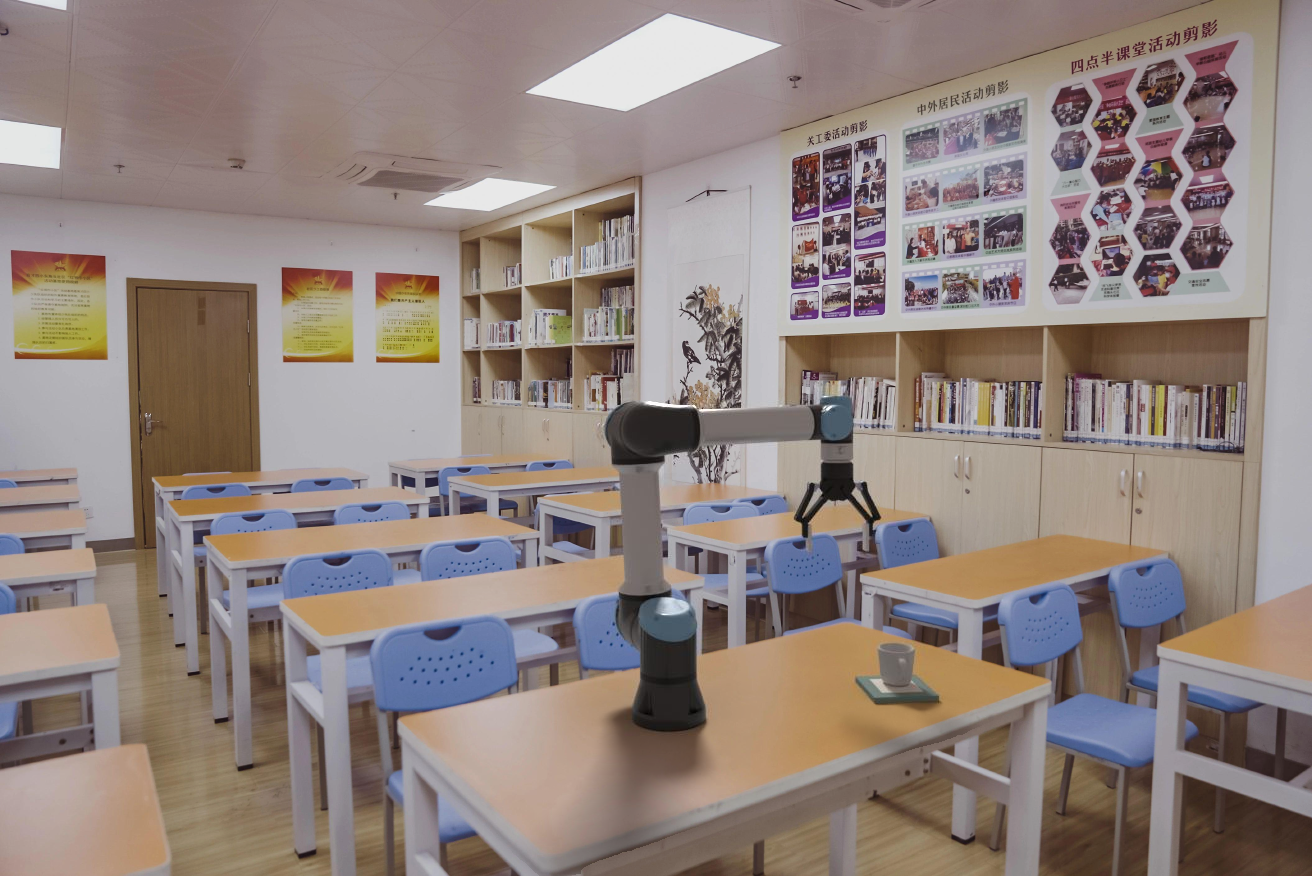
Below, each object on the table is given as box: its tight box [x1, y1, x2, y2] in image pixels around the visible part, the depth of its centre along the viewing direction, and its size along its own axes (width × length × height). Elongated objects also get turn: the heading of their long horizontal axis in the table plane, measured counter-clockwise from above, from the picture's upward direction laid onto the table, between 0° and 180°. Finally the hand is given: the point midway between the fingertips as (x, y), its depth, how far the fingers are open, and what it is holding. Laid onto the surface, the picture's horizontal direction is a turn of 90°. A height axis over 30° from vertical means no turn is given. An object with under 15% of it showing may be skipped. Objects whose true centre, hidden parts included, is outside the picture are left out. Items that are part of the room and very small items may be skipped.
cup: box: [877, 642, 916, 686], centre depth 189 cm, size 11×8×8 cm
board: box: [855, 674, 940, 704], centre depth 189 cm, size 14×14×1 cm
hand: (837, 551), depth 202 cm, fingers open, 13 cm apart
